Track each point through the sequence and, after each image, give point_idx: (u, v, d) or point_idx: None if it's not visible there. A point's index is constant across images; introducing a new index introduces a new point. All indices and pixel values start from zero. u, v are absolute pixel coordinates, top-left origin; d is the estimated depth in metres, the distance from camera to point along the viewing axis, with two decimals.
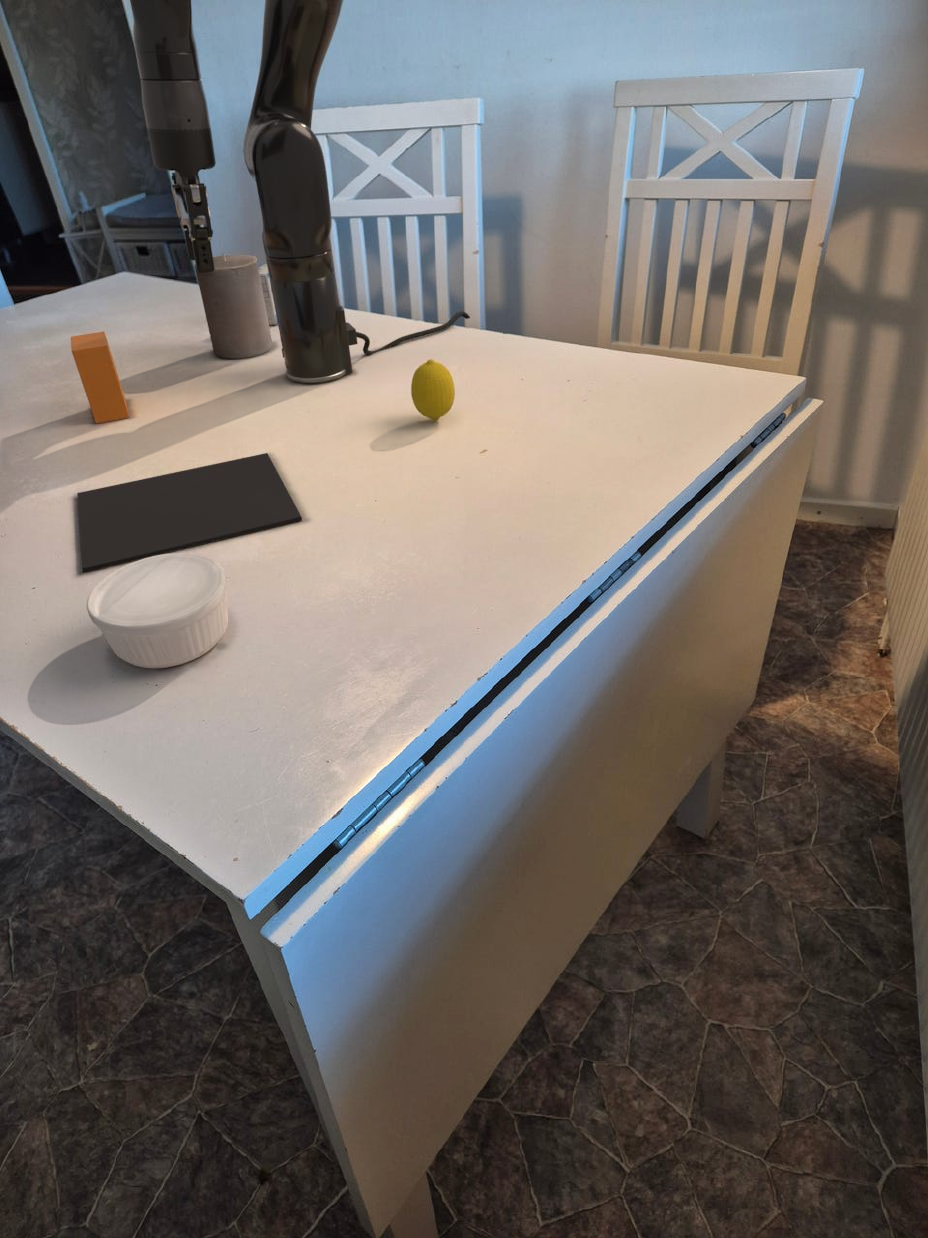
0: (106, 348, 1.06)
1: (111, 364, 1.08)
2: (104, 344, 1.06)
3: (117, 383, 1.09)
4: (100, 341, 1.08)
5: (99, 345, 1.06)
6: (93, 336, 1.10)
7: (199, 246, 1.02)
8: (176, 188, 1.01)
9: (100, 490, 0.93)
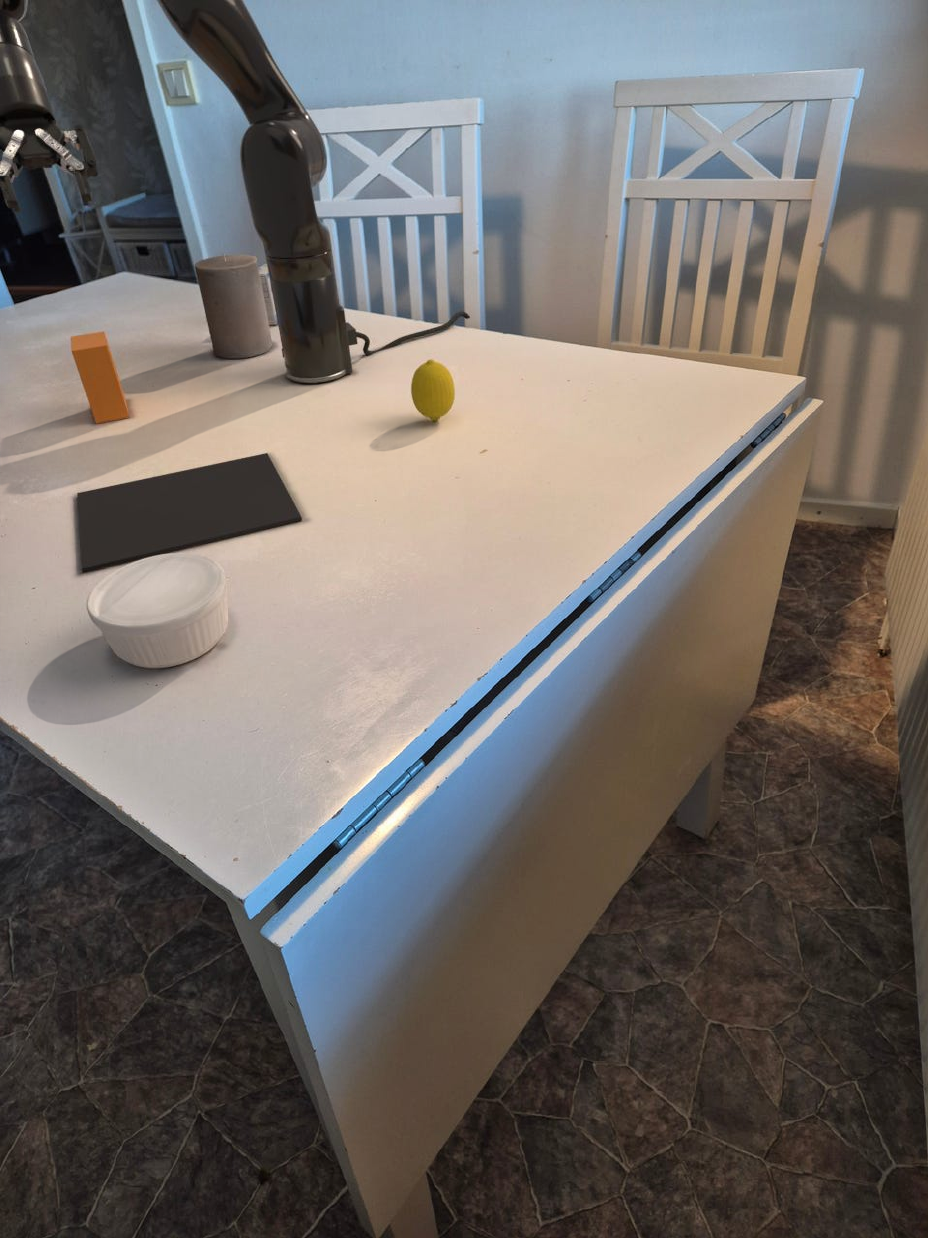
0: (106, 348, 1.06)
1: (111, 364, 1.08)
2: (104, 344, 1.06)
3: (117, 383, 1.09)
4: (100, 341, 1.08)
5: (99, 345, 1.06)
6: (93, 336, 1.10)
7: None
8: None
9: (100, 490, 0.93)
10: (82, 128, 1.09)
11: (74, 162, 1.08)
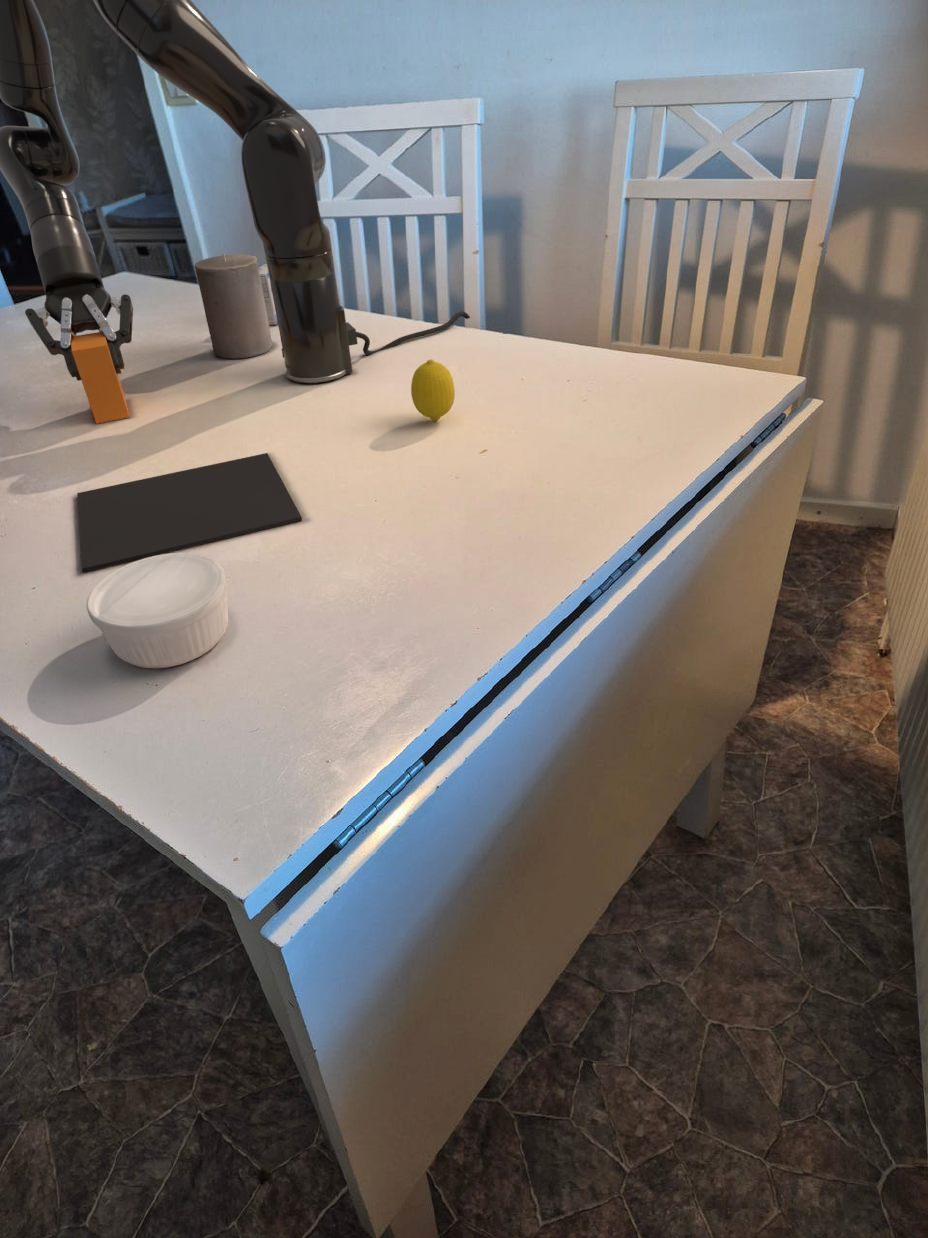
0: (106, 348, 1.06)
1: (111, 364, 1.08)
2: (104, 344, 1.06)
3: (117, 383, 1.09)
4: (100, 341, 1.08)
5: (99, 345, 1.06)
6: (93, 336, 1.10)
7: None
8: None
9: (100, 490, 0.93)
10: (128, 298, 1.11)
11: (108, 332, 1.09)
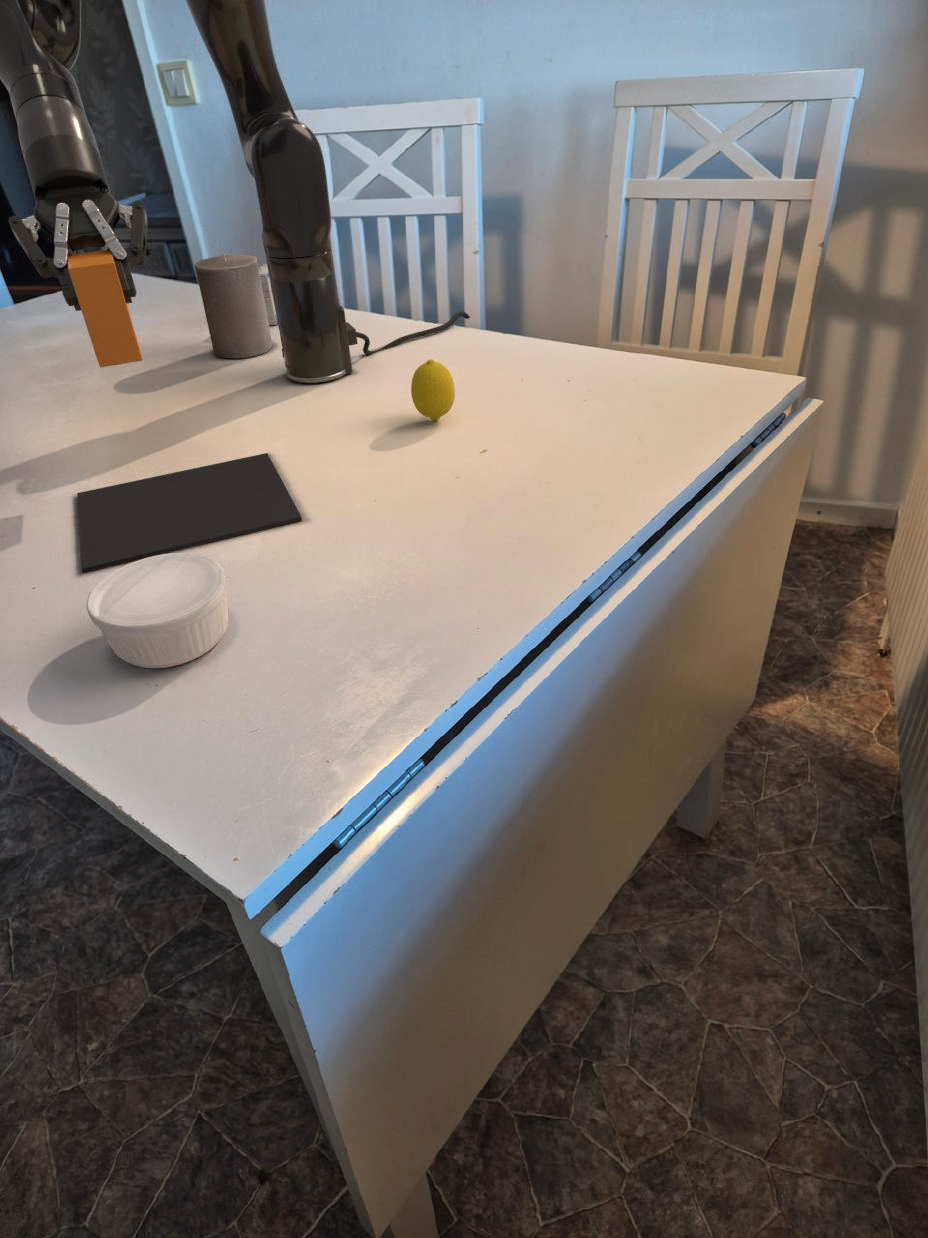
0: (113, 266, 0.82)
1: (119, 288, 0.83)
2: (110, 261, 0.82)
3: (127, 314, 0.84)
4: (105, 258, 0.83)
5: (104, 262, 0.82)
6: (96, 254, 0.85)
7: None
8: None
9: (100, 490, 0.93)
10: (142, 207, 0.86)
11: (116, 248, 0.85)
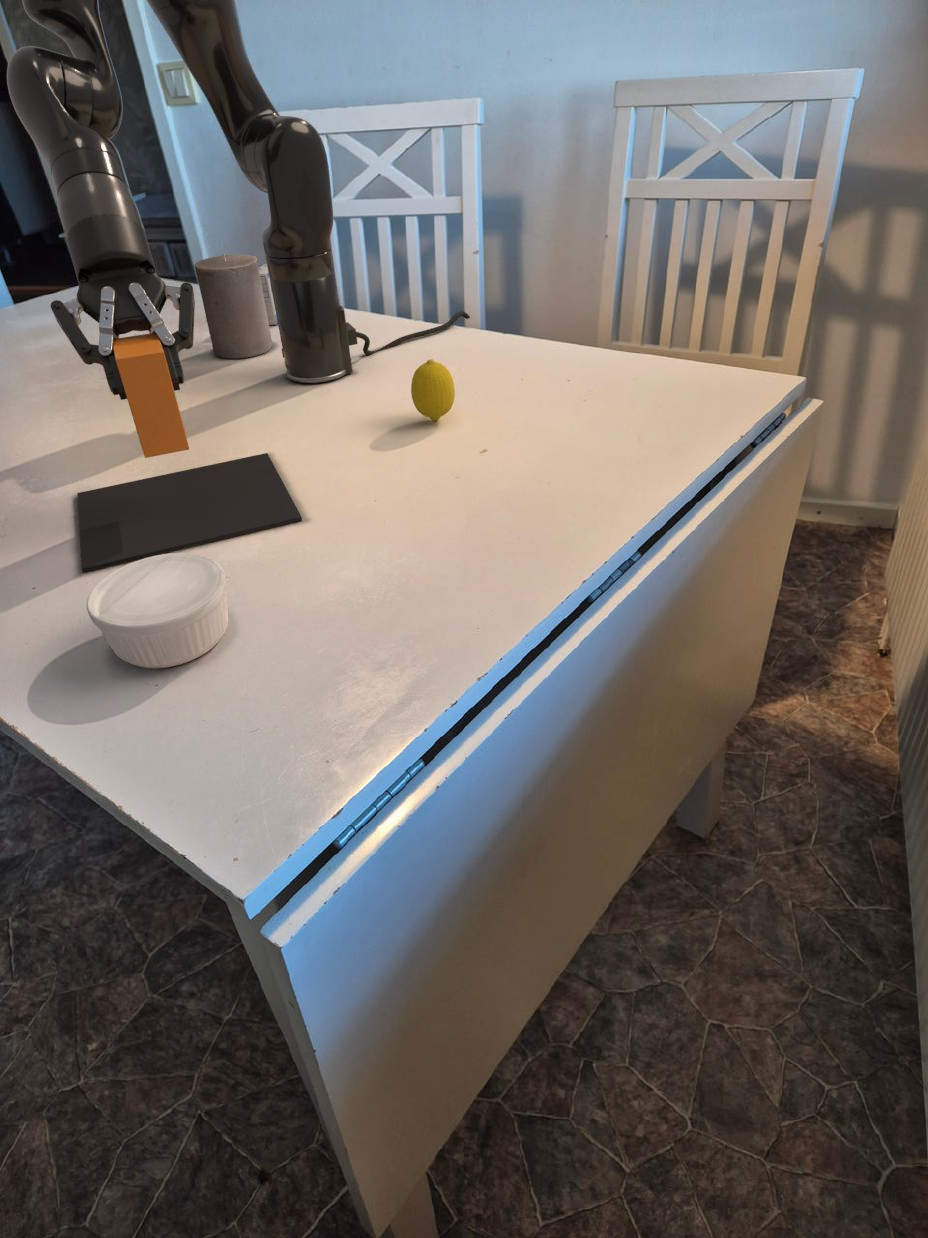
0: (163, 356, 0.77)
1: (168, 378, 0.78)
2: (160, 350, 0.77)
3: (175, 404, 0.80)
4: (154, 346, 0.78)
5: (153, 352, 0.77)
6: (143, 339, 0.80)
7: None
8: None
9: (100, 490, 0.93)
10: (190, 288, 0.81)
11: (164, 334, 0.80)
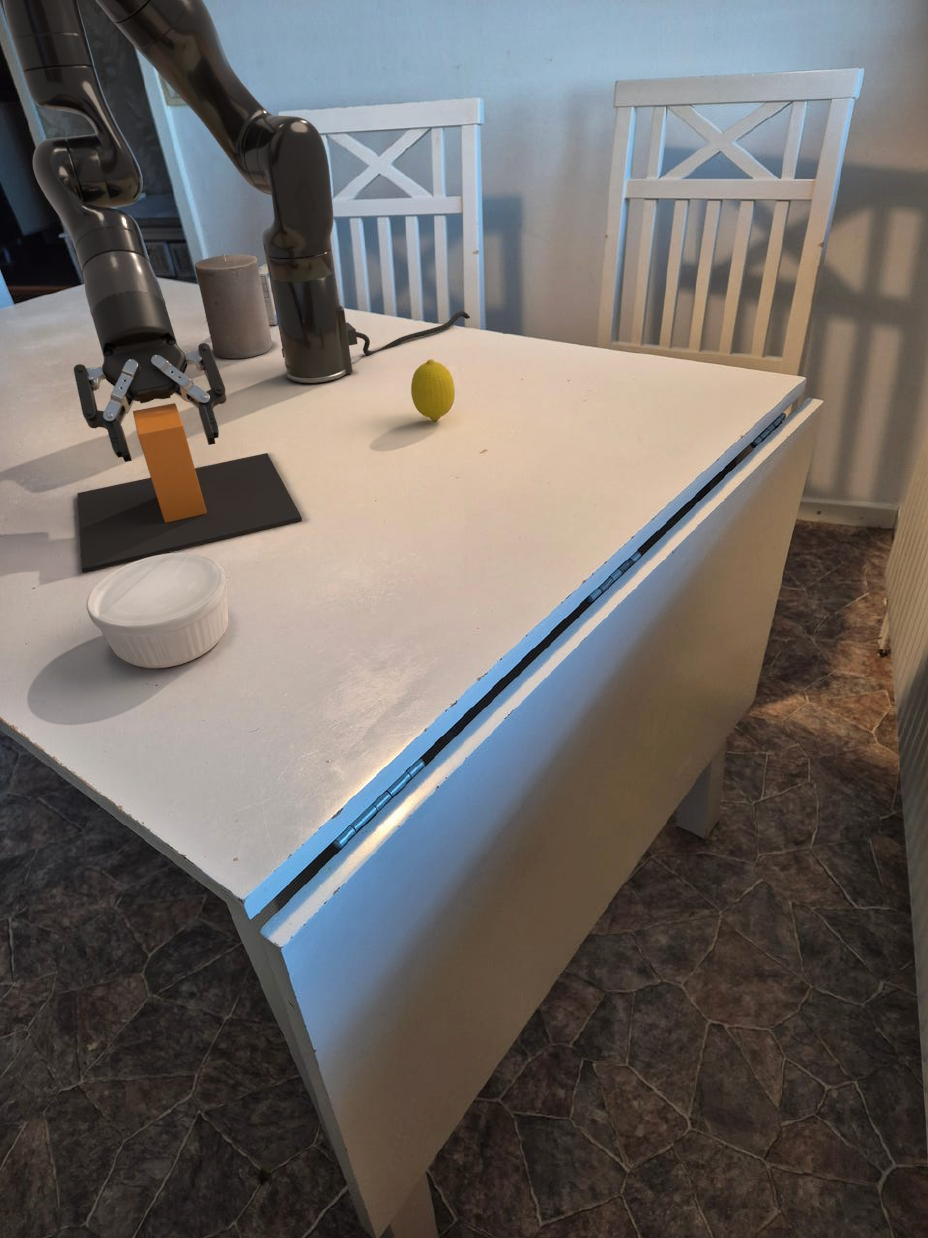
0: (182, 430, 0.81)
1: (187, 449, 0.82)
2: (179, 424, 0.81)
3: (194, 472, 0.84)
4: (173, 419, 0.82)
5: (173, 426, 0.81)
6: (162, 411, 0.84)
7: None
8: None
9: (100, 490, 0.93)
10: (208, 347, 0.86)
11: (198, 393, 0.85)
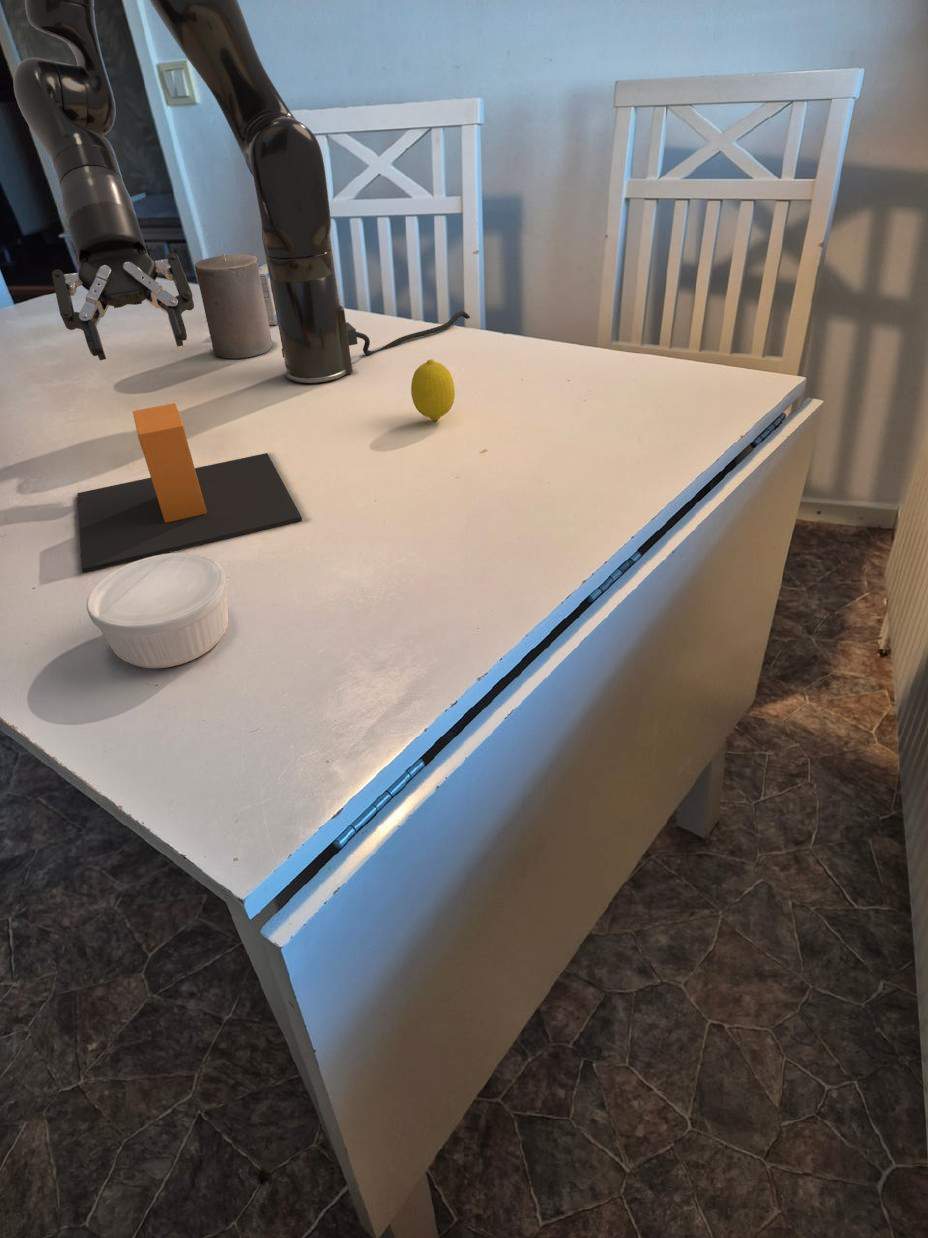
0: (182, 430, 0.81)
1: (187, 449, 0.82)
2: (179, 424, 0.81)
3: (194, 472, 0.84)
4: (173, 419, 0.82)
5: (173, 426, 0.81)
6: (162, 411, 0.84)
7: None
8: None
9: (100, 490, 0.93)
10: (176, 256, 0.93)
11: (167, 297, 0.92)
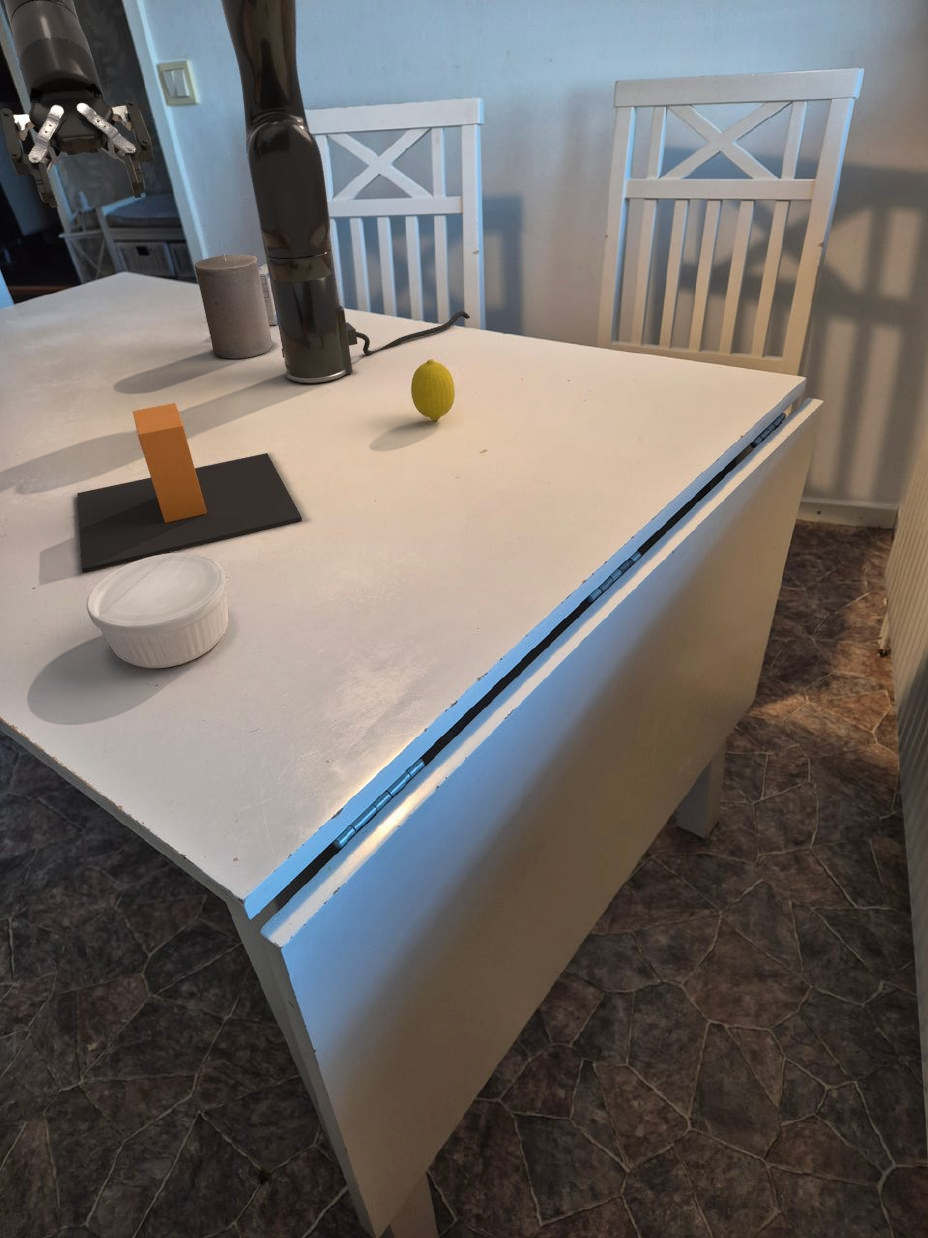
0: (182, 430, 0.81)
1: (187, 449, 0.82)
2: (179, 424, 0.81)
3: (194, 472, 0.84)
4: (173, 419, 0.82)
5: (173, 426, 0.81)
6: (162, 411, 0.84)
7: None
8: None
9: (100, 490, 0.93)
10: (134, 102, 0.88)
11: (124, 144, 0.86)
